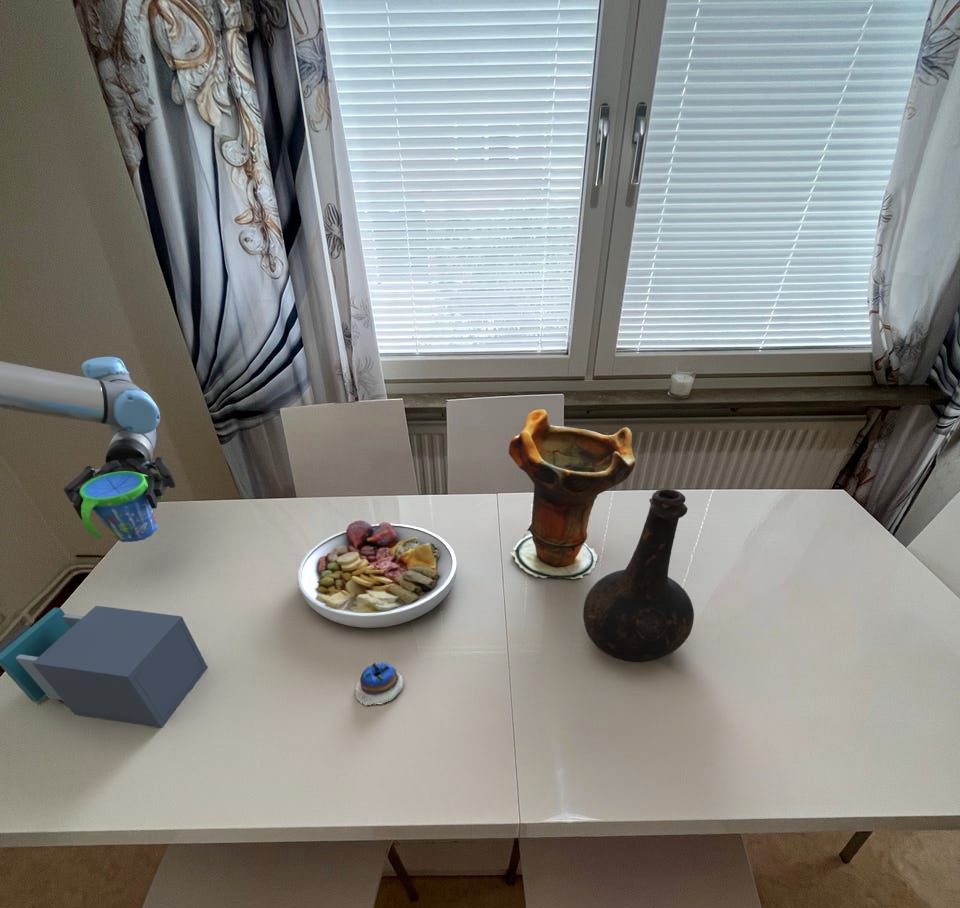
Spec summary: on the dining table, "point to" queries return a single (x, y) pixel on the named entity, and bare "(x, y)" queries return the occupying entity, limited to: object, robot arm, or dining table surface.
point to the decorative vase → (565, 491)
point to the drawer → (34, 652)
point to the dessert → (378, 684)
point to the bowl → (377, 574)
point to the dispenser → (124, 665)
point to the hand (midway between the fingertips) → (115, 507)
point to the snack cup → (119, 505)
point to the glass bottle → (643, 593)
